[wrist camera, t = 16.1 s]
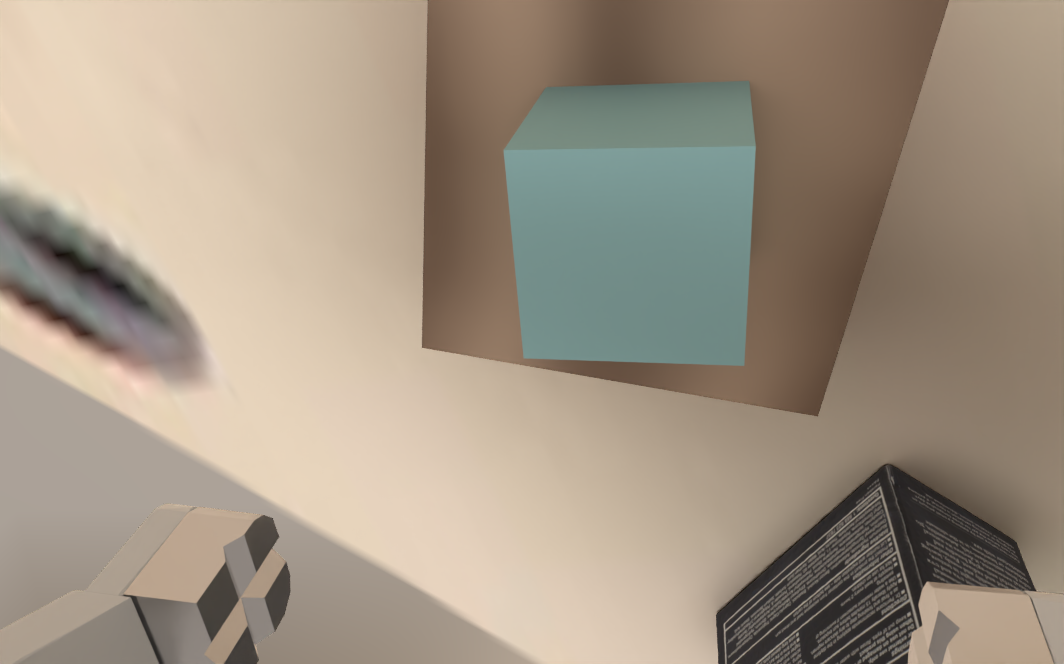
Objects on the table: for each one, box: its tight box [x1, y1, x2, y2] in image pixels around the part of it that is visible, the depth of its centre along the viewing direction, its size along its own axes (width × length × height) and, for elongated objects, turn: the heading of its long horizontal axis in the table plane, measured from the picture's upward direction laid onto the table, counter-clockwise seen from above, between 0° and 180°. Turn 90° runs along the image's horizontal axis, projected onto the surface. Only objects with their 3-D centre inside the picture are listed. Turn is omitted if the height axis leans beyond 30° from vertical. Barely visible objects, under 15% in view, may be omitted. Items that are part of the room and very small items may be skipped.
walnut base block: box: [422, 0, 949, 416], centre depth 25 cm, size 12×12×5 cm
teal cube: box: [504, 81, 756, 366], centre depth 20 cm, size 5×5×5 cm
